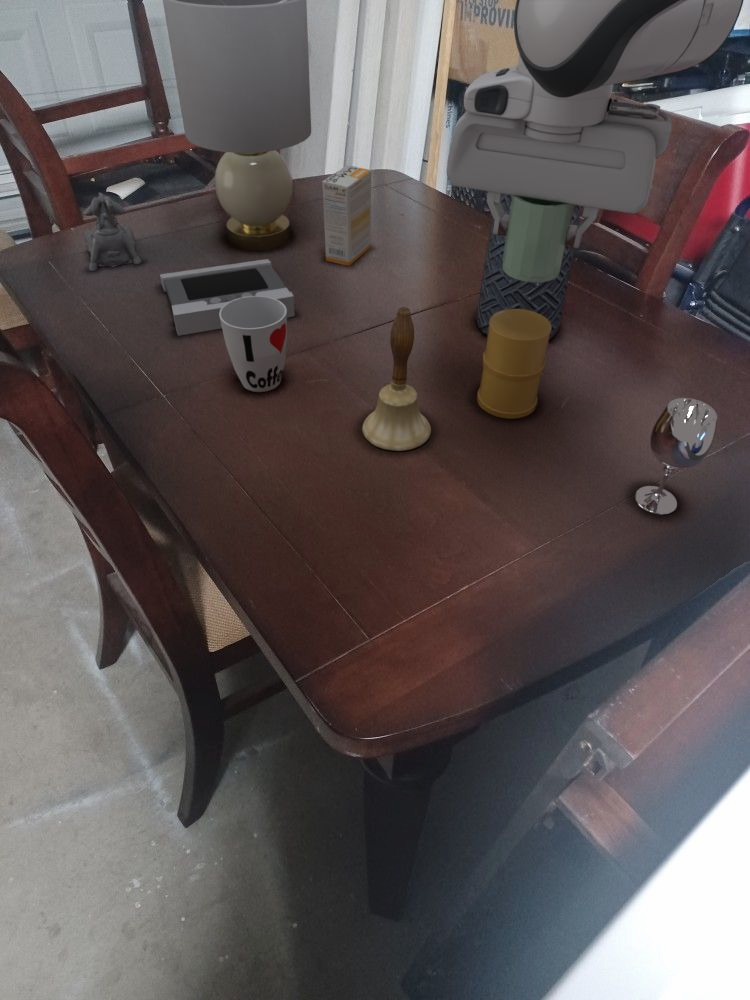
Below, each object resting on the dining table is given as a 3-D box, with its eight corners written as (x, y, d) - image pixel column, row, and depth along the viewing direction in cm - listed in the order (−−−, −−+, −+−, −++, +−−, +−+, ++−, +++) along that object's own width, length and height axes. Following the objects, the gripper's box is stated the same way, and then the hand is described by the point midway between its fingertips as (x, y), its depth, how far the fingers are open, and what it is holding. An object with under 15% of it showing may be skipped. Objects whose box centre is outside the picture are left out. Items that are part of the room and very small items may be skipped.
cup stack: (541, 391, 91) (558, 315, 83) (529, 424, 85) (546, 346, 78) (485, 378, 92) (496, 302, 85) (469, 410, 87) (480, 333, 80)
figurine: (135, 240, 122) (121, 175, 114) (142, 264, 115) (127, 197, 107) (85, 246, 119) (67, 181, 112) (89, 271, 113) (71, 203, 105)
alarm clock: (173, 315, 96) (156, 256, 106) (179, 343, 100) (161, 283, 110) (293, 296, 101) (265, 241, 111) (294, 323, 104) (267, 268, 114)
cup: (242, 405, 87) (232, 335, 80) (221, 372, 92) (210, 304, 86) (301, 388, 90) (296, 319, 83) (278, 358, 95) (272, 290, 88)
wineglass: (625, 510, 75) (658, 421, 67) (632, 477, 79) (664, 389, 70) (681, 525, 73) (722, 436, 65) (685, 490, 77) (724, 402, 69)
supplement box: (347, 242, 122) (346, 163, 113) (371, 248, 120) (372, 168, 111) (324, 261, 117) (320, 180, 108) (349, 267, 115) (348, 185, 106)
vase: (558, 352, 97) (607, 133, 78) (471, 341, 99) (498, 125, 79) (559, 309, 106) (604, 103, 86) (479, 301, 108) (506, 96, 88)
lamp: (177, 244, 120) (130, -6, 96) (251, 206, 133) (226, -23, 108) (269, 274, 113) (244, 12, 88) (338, 231, 125) (333, -9, 101)
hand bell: (383, 401, 88) (387, 284, 77) (442, 422, 85) (454, 304, 74) (349, 437, 83) (347, 316, 72) (410, 460, 80) (418, 339, 69)
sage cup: (564, 262, 78) (580, 188, 72) (553, 287, 74) (569, 211, 68) (509, 252, 79) (520, 180, 74) (495, 276, 75) (506, 201, 70)
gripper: (680, 98, 64) (638, 244, 74) (466, 73, 69) (453, 213, 79) (676, 116, 60) (632, 269, 69) (448, 89, 65) (437, 235, 75)
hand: (535, 239), depth 74 cm, fingers closed on sage cup, 6 cm apart
